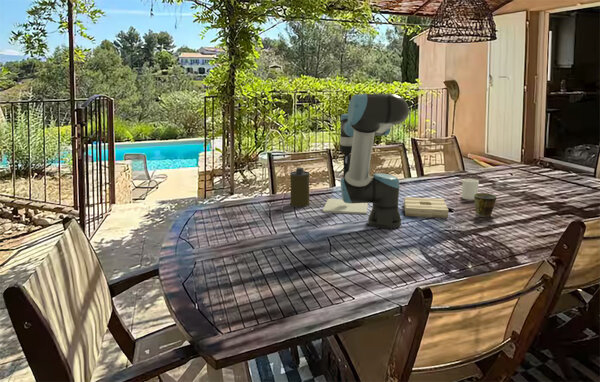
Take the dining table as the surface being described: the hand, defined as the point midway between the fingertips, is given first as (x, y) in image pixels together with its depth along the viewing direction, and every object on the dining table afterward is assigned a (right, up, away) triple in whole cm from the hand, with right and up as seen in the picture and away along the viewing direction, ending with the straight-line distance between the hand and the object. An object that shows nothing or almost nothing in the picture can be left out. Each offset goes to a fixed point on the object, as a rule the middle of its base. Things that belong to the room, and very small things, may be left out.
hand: (346, 189), depth 231 cm
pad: (0, -10, +2) cm, 10 cm away
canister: (-24, -8, +8) cm, 27 cm away
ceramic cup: (+65, -14, -14) cm, 68 cm away
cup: (+71, -5, +20) cm, 74 cm away
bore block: (+39, -11, -5) cm, 41 cm away
